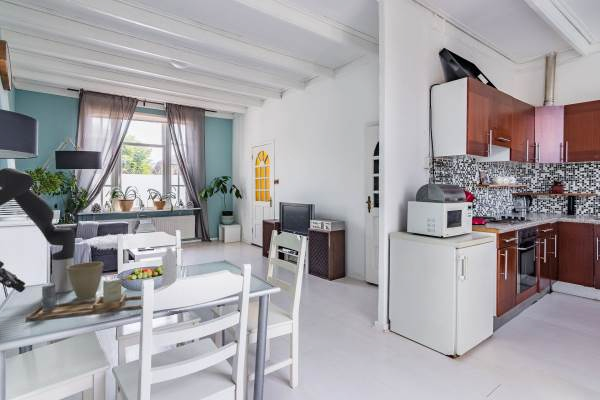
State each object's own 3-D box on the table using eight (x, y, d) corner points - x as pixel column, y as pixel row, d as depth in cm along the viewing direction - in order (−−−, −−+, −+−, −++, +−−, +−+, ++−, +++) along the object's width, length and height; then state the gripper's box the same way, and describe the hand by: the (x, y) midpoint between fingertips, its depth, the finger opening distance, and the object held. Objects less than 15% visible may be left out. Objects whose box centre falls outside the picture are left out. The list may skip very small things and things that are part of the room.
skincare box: (107, 309, 140) (107, 282, 139) (102, 307, 142) (102, 280, 142) (122, 304, 145) (121, 278, 145) (117, 302, 147) (116, 277, 147)
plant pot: (88, 291, 165) (88, 261, 165) (110, 293, 161) (110, 262, 161) (59, 300, 151) (59, 267, 150) (83, 303, 147) (82, 269, 146)
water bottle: (167, 301, 150) (167, 249, 149) (159, 298, 153) (159, 248, 153) (183, 296, 157) (183, 246, 157) (175, 293, 161) (174, 245, 160)
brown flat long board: (25, 321, 126) (25, 317, 126) (41, 308, 140) (41, 304, 140) (147, 307, 142) (147, 303, 142) (150, 296, 156) (150, 293, 156)
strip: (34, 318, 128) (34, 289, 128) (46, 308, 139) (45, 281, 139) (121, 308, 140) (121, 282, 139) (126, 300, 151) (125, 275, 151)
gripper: (-9, 259, 118) (32, 284, 126) (-6, 254, 128) (31, 277, 136) (-29, 276, 114) (14, 300, 122) (-24, 269, 125) (15, 291, 133)
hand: (23, 287), depth 129 cm, fingers open, 8 cm apart
